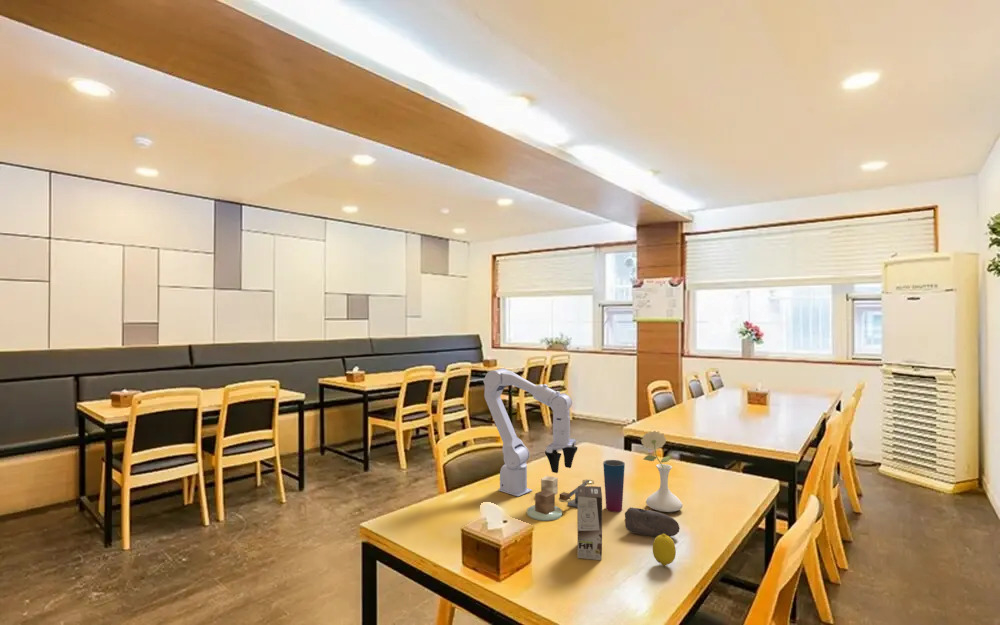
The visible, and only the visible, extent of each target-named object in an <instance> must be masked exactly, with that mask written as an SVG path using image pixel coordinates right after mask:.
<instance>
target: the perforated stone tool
mask: <svg viewBox="0 0 1000 625" xmlns="http://www.w3.org/2000/svg"><path fill="white" fill-rule="evenodd" d="M624 523H625V524H624V525H625V528H626V530H627V531H628V532H630V533H634V534H637V535H640V536H641V535H642V536H650V537H657V536H659V535H662V534H666V535H667V536H669V537H670V538H671V537H674V536H676V535H677V534H678V533H679V532H680V530H681V527H680V525H679V523H678V521H677V520H676V519H675V518H673V517H671V516H670V515H668V514H664V513H662V512H660V511H656V510H655V511H654V510H650V509H644V508H637V507H631V506H630V507H629V508H627V510H626V511H625V512H624Z"/></svg>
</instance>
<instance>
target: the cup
mask: <svg viewBox="0 0 1000 625" xmlns="http://www.w3.org/2000/svg"><path fill="white" fill-rule="evenodd" d="M602 465H603V478H604V479H603V480H604V481H603V482H604V494H605V510H607V511H609V512H612V513H618V512H622V510H623V499H624V485H625V484H624V482H625V465H626V464H625V462H624V461H622V460H619V459H606V460H604V461H603V463H602Z"/></svg>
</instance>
